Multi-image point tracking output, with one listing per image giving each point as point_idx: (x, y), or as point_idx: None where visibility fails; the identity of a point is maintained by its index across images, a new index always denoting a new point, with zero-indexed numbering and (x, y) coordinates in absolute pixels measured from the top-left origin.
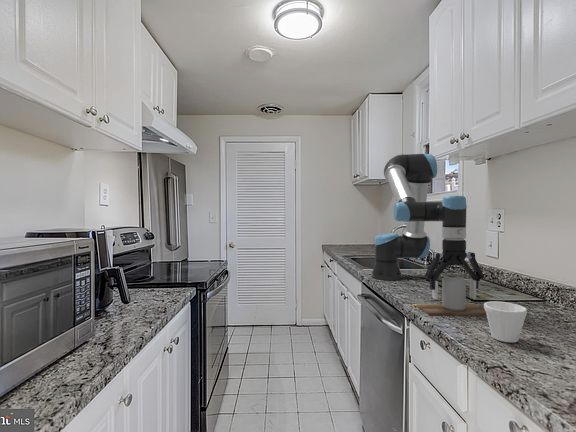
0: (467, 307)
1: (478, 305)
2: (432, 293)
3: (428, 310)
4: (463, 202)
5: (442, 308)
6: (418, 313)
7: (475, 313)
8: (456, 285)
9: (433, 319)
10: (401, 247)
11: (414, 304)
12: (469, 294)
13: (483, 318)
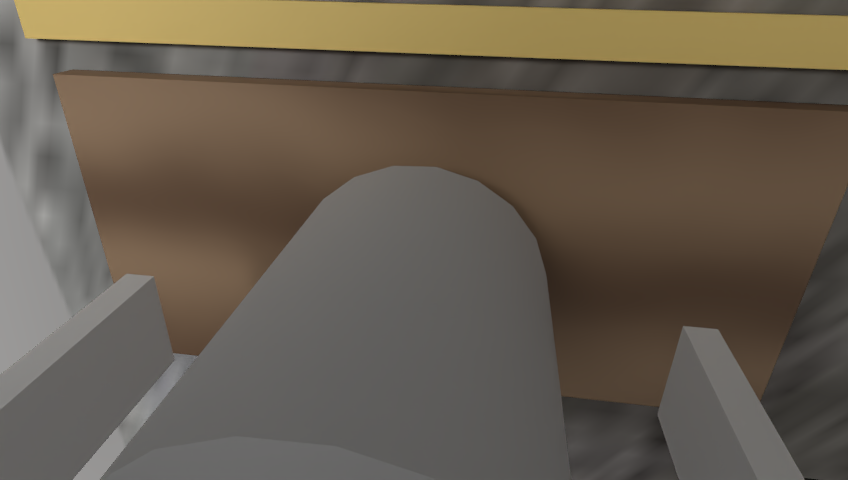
0: (616, 250)
1: (841, 196)
2: (87, 314)
3: None
4: None
5: None
6: (66, 274)
7: (567, 390)
8: None
9: (159, 404)
10: None
11: (42, 10)
12: (697, 349)
13: (570, 450)
